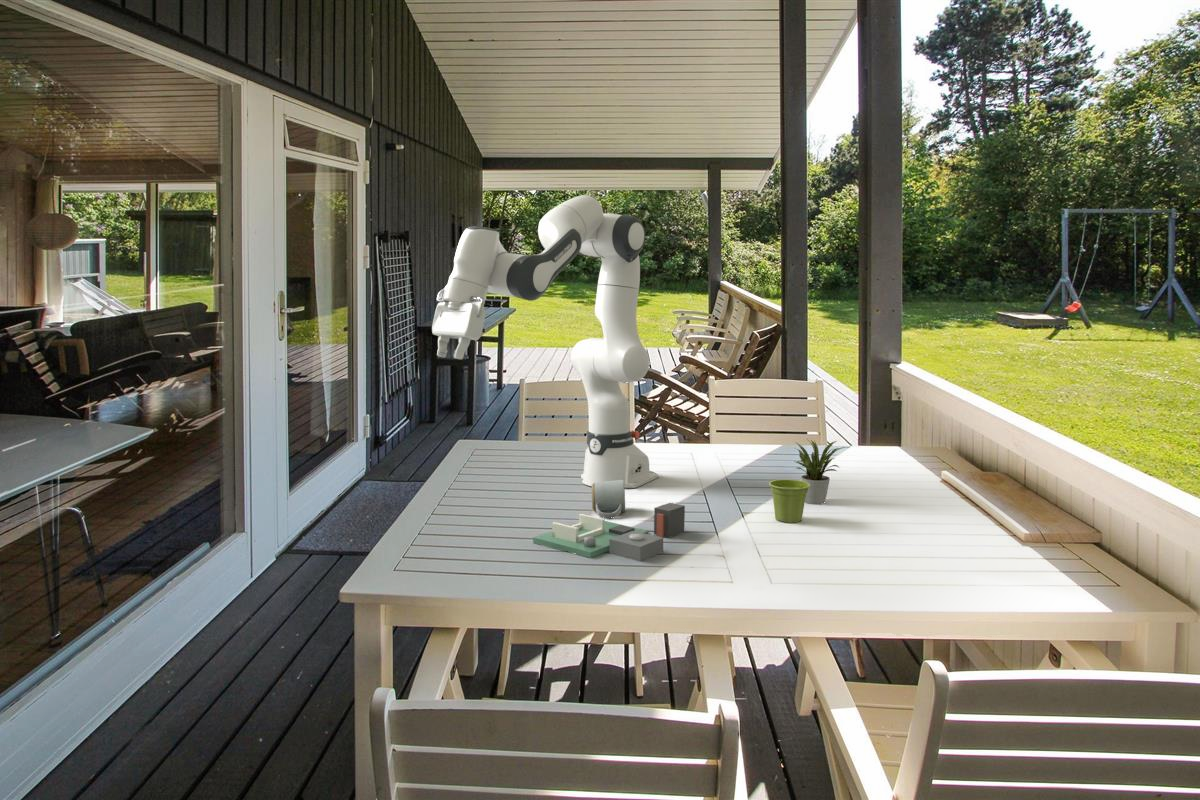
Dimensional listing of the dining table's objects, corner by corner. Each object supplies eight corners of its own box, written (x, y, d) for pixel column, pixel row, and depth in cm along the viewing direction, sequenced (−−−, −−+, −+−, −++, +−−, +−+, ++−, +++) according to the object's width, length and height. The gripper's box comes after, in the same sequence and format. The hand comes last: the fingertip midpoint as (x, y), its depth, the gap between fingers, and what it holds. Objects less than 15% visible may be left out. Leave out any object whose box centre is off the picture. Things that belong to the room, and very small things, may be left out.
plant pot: (763, 514, 229) (764, 479, 228) (802, 513, 230) (803, 478, 229) (773, 525, 220) (775, 488, 219) (813, 524, 221) (815, 488, 219)
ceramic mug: (591, 507, 235) (591, 476, 234) (625, 507, 235) (625, 476, 234) (591, 519, 225) (591, 487, 224) (626, 519, 225) (626, 487, 224)
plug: (669, 528, 217) (670, 502, 216) (684, 531, 215) (684, 505, 214) (652, 534, 212) (652, 508, 211) (666, 538, 210) (667, 511, 209)
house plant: (851, 497, 246) (854, 434, 243) (846, 511, 233) (849, 444, 230) (794, 492, 250) (797, 431, 248) (787, 505, 237) (789, 440, 235)
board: (592, 523, 221) (592, 505, 221) (648, 536, 211) (648, 517, 211) (533, 542, 206) (533, 523, 205) (590, 557, 196) (590, 538, 195)
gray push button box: (632, 544, 205) (632, 528, 205) (663, 551, 200) (663, 535, 200) (609, 553, 199) (609, 536, 199) (640, 561, 194) (640, 543, 194)
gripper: (497, 301, 204) (481, 363, 203) (459, 301, 222) (444, 359, 221) (471, 292, 201) (454, 356, 200) (435, 293, 218) (419, 352, 218)
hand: (449, 357), depth 211 cm, fingers open, 8 cm apart
